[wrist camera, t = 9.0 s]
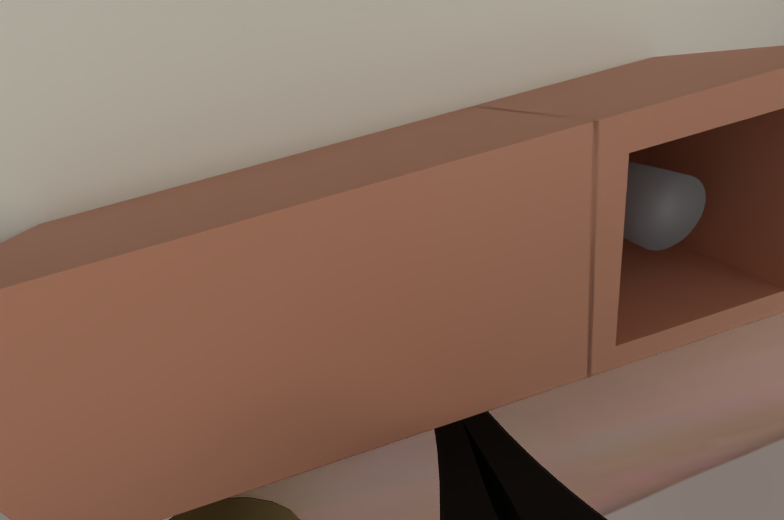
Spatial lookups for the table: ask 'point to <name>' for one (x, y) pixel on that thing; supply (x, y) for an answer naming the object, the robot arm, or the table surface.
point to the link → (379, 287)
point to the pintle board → (308, 85)
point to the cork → (238, 511)
